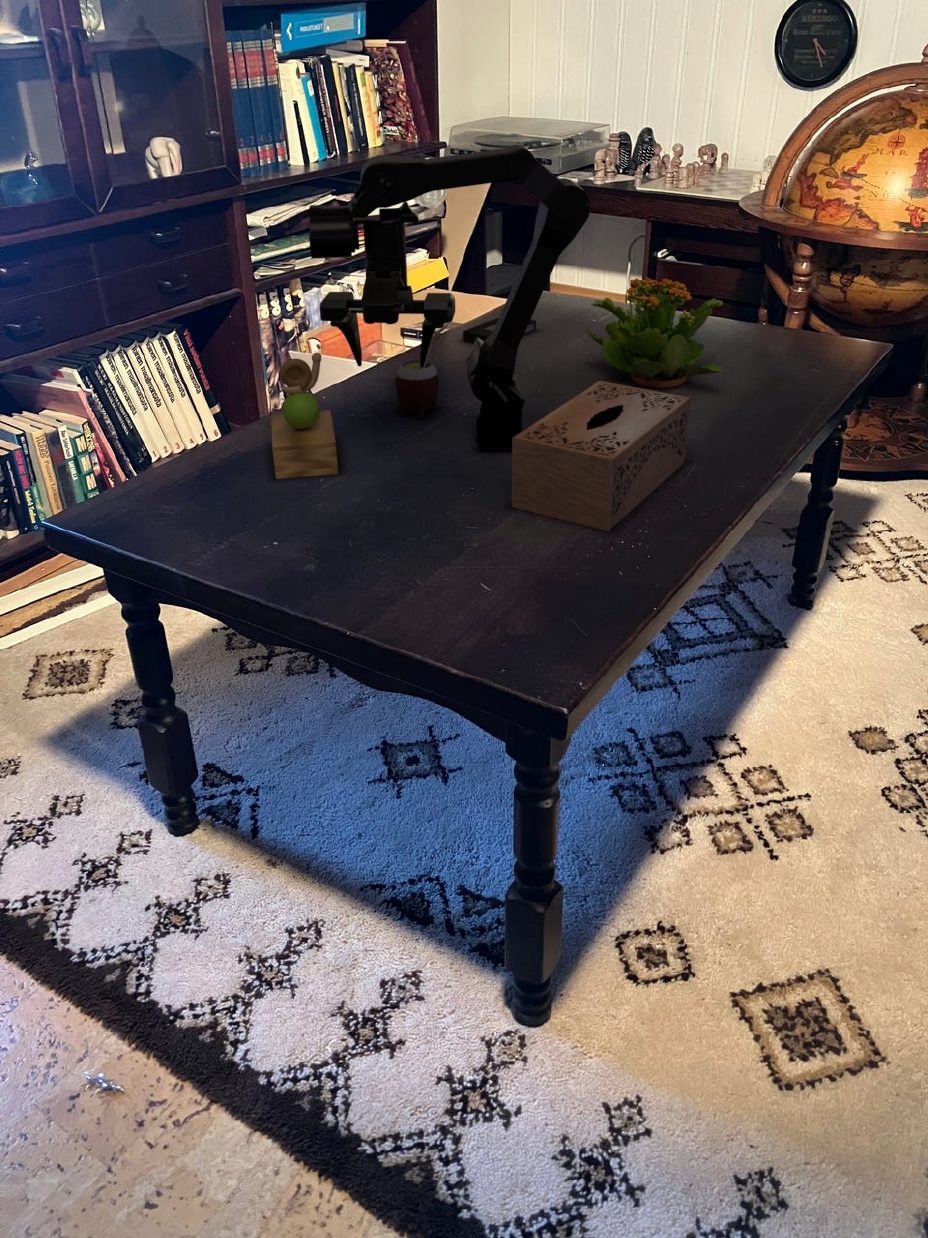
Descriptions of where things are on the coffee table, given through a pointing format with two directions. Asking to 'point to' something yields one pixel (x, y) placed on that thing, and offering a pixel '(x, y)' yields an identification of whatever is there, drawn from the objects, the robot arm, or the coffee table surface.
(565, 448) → the tissue box cover
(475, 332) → the vhs tape
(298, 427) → the snail figurine
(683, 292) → the potted flower
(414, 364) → the mate gourd
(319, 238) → the robot arm
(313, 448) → the tan rectangular block
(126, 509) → the coffee table surface
